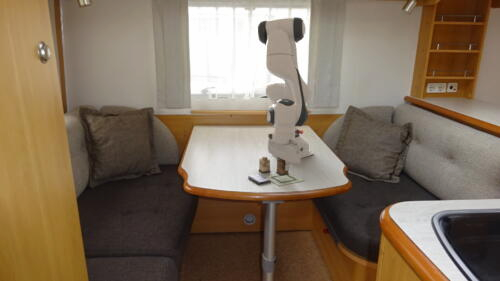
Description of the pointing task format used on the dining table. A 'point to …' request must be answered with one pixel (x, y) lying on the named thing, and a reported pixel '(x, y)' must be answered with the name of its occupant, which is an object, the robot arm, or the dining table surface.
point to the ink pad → (259, 179)
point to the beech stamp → (264, 165)
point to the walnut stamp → (281, 168)
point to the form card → (284, 179)
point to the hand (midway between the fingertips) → (283, 168)
